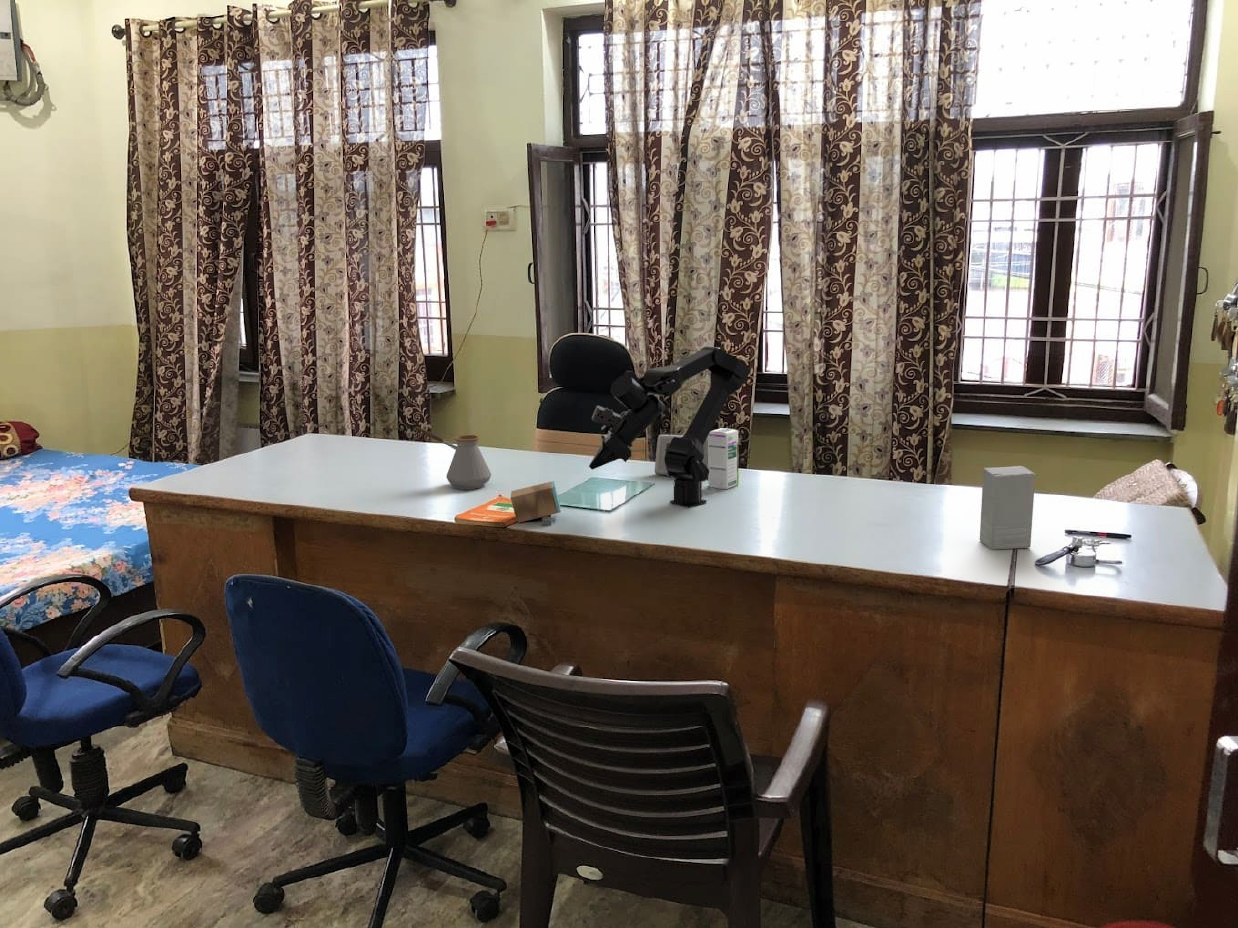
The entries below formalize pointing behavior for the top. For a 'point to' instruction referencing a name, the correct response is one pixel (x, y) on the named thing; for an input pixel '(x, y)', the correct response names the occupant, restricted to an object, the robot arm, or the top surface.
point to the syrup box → (723, 458)
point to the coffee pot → (465, 462)
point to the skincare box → (1007, 507)
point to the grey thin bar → (546, 520)
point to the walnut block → (535, 501)
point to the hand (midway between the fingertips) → (590, 467)
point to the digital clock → (660, 453)
